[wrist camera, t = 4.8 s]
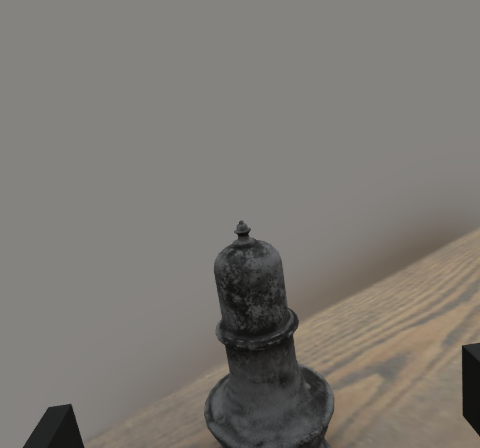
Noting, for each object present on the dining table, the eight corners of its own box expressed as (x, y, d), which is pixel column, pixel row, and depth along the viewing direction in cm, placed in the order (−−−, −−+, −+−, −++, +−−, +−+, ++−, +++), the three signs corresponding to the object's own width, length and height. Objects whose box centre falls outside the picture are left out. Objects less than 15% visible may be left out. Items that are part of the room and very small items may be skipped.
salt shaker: (191, 484, 18) (137, 239, 15) (260, 404, 23) (229, 203, 20) (304, 553, 15) (261, 250, 12) (360, 442, 19) (339, 203, 16)
